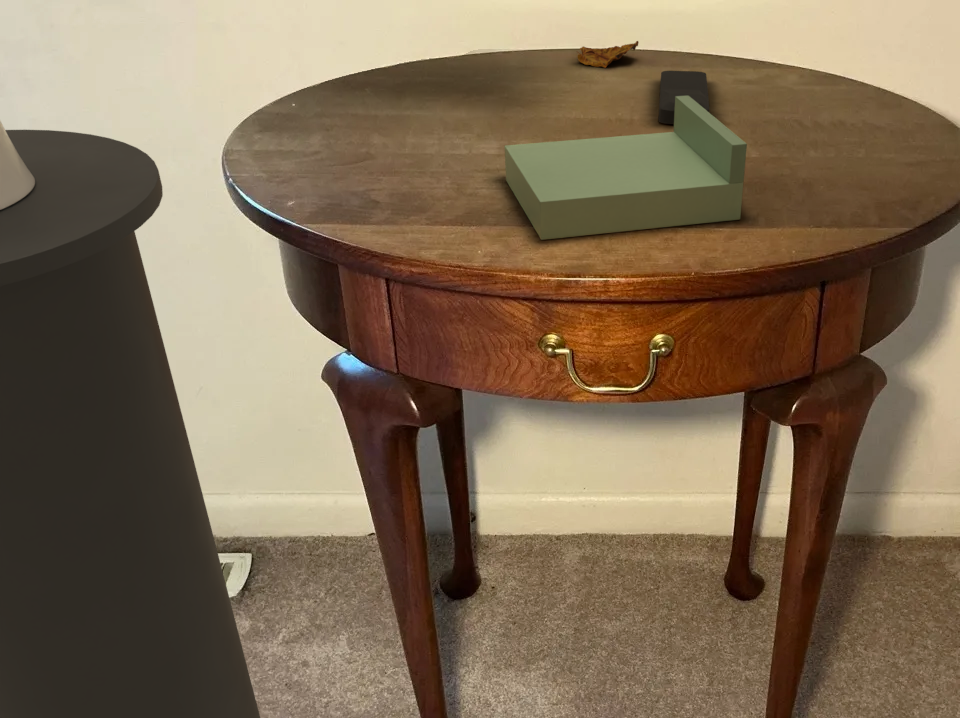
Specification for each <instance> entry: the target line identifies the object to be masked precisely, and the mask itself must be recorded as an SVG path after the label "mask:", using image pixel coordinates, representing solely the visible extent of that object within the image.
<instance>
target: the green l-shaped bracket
mask: <svg viewBox="0 0 960 718" xmlns="http://www.w3.org/2000/svg"><path fill="white" fill-rule="evenodd" d="M747 148H748V143H746V142H745V141H744V140H743V139H742V138H740V136H738V135H737V134H736V133H735V132H733V131H732V130H731V128H728V127H727V126H726V125H725V124H724V123H723V122H721V121H720V120H719V119H717V117H715V116H714V115H713V114H712V113H710V111H709V112H708V111H707V110H705V109H704V108H703V107H702V106H700V105H699V104H698V103H697V102H696V101H694V100H693V99H692V98H691V97H690V96H676V97H675V113H674V124H673V131H667V132H657V133H656V132H655V133H643V134H632V135H631V134H630V135H619V136H616V135H615V136H605V137H592V138H580V139H569V140H556V141H544V142H531V143H519V144H517V143H516V144H505V145H504V165H505V168H504V169H505V180H506V183H507V184H508V186H509V188H510V189H511V192H512V193H513V194H514V196H515V198H516V200H517V201H518V204H519V205H520V206H521V208H522V210H523V212H524V213H525V215H526V217H527V218H528V220H529V222H530V223H531V225H532V226H533V229H534V231H535V232H536V233H537V235H538V237H539V239H540V240H541V241H544V240H554V239H555V240H556V239H564V238H573V237H574V238H575V237H583V236H591V235H592V236H593V235H602V234H612V233H621V232H631V231H640V230H641V231H642V230H650V229H651V230H652V229H660V228H661V229H662V228H670V227H671V228H672V227H681V226H689V225H690V226H691V225H700V224H708V223H709V224H710V223H719V222H729V221H738V220H739V221H740V220H741V213H742V205H743V204H742V203H743V193H744V192H743V191H744V183H745V182H744V181H745V172H746V169H745V168H746V160H747V159H746V158H747Z"/></svg>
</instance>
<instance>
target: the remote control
mask: <svg viewBox="0 0 960 718" xmlns="http://www.w3.org/2000/svg"><path fill="white" fill-rule="evenodd" d="M659 82H660V83H659V100H658V101H659V103H658V122H659V123H662V124H666V125H667V124H669V125H674V113H675V97H676V96H690V97H691V98H692V99H693V100H694V101H696V102H697V103H698V104H699V105H700V106H702V107H703V108H704V109H705V110H707V111H708V112H709V113H710V100H709V89H708V88H709V87H708V78H707V73H706V72H704V71H699V70H698V71H695V70H694V71H693V70H663V71H661V73H660V81H659Z"/></svg>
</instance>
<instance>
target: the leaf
mask: <svg viewBox="0 0 960 718" xmlns="http://www.w3.org/2000/svg"><path fill="white" fill-rule="evenodd" d="M637 47H639V40H636V41H635V42H634V43H628V44H623V45H621V46H618V45H615V46H611V47H606V48H591V47H587V46H581V47H580V48H579V50H580V52H581V53H580V52H578V51H577V53H578V54H577V55H576V56H577V59H578V62H579V63H581V64H584V66H589V65H590V66H592V67H597V68H598V67H602V68H605V69H606V68H607V66H608V65H610V64H611V63H612V62H615V61H618V60H620V59H621V58H622V57H623V56H624V55H625V54H627V53H628V52H629V51H630V50H633V51H635V50H636V49H637Z"/></svg>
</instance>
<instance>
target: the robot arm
mask: <svg viewBox="0 0 960 718" xmlns="http://www.w3.org/2000/svg"><path fill="white" fill-rule="evenodd" d="M5 130H6V129H5V126H4V125H3V123H2V120H0V210H2V209H4V208H6V207H8V206H10V205H12V204H14V203H16V202H18V201H19V200H21V199H22V198H24V197H25V196H26V195H28V194H29V193H30V192H31V191H32V189H33V188H34V186H35V178H34V177H33V175H32V174H31V172H30V171H29V170H28V168H27V167H26V165H25V164H24V162H23V160H22V159H21V157H20V156H19V154H18V152H17V151H16V149H15V147H14V145H13V144H12V142H11V140H10V138H9V136H8V135H7V133H6V131H5Z"/></svg>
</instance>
